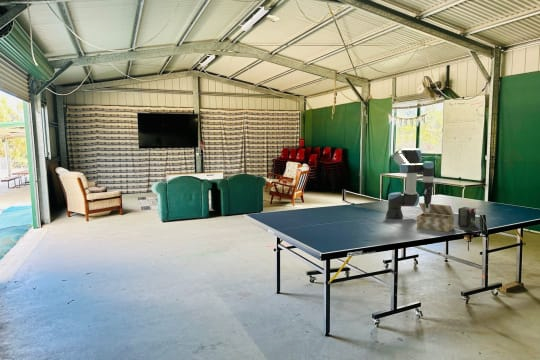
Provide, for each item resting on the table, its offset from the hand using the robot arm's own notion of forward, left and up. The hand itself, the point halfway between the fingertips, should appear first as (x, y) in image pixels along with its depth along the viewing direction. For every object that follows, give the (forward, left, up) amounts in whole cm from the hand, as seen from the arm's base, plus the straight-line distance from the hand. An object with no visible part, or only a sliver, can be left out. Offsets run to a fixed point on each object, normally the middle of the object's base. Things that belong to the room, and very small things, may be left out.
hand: (427, 212), depth 272 cm
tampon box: (+17, +42, -16) cm, 48 cm away
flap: (0, +19, -1) cm, 19 cm away
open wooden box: (0, +18, -16) cm, 24 cm away
